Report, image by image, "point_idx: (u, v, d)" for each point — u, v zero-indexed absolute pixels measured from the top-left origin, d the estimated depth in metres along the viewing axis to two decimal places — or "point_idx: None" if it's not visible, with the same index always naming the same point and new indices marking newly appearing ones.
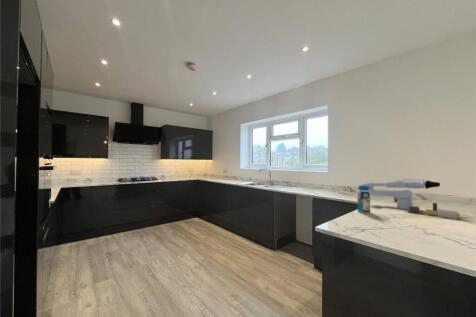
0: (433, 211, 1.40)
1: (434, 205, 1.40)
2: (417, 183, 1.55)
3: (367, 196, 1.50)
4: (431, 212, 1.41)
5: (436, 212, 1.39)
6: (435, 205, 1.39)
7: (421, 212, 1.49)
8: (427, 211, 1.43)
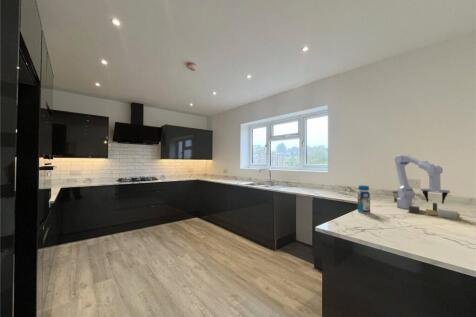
0: (433, 211, 1.40)
1: (434, 205, 1.40)
2: (429, 185, 1.42)
3: (367, 196, 1.50)
4: (431, 212, 1.41)
5: (436, 212, 1.39)
6: (435, 205, 1.39)
7: (421, 212, 1.49)
8: (427, 211, 1.43)
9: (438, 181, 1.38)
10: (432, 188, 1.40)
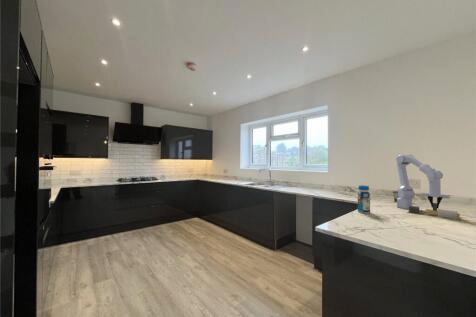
0: (433, 211, 1.40)
1: (434, 205, 1.40)
2: (429, 190, 1.42)
3: (367, 196, 1.50)
4: (431, 212, 1.41)
5: (436, 212, 1.39)
6: (435, 205, 1.39)
7: (421, 212, 1.49)
8: (427, 211, 1.43)
9: (438, 186, 1.38)
10: (432, 193, 1.40)
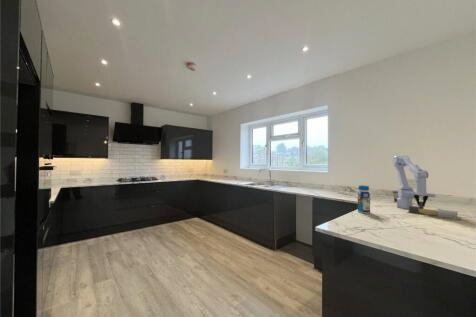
0: (419, 209, 1.46)
1: (420, 203, 1.45)
2: (416, 189, 1.48)
3: (367, 196, 1.50)
4: None
5: (422, 210, 1.44)
6: (421, 203, 1.45)
7: None
8: None
9: (423, 185, 1.44)
10: (418, 192, 1.45)
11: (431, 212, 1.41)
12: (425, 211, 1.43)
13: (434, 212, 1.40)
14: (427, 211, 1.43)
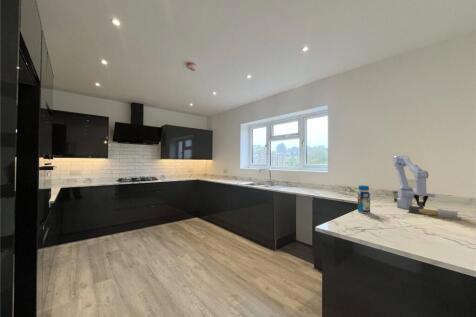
0: (419, 209, 1.46)
1: (420, 203, 1.45)
2: (416, 189, 1.48)
3: (367, 196, 1.50)
4: None
5: (422, 210, 1.44)
6: (421, 203, 1.45)
7: None
8: None
9: (423, 185, 1.44)
10: (418, 192, 1.45)
11: (431, 212, 1.41)
12: (425, 211, 1.43)
13: (434, 212, 1.40)
14: (427, 211, 1.43)
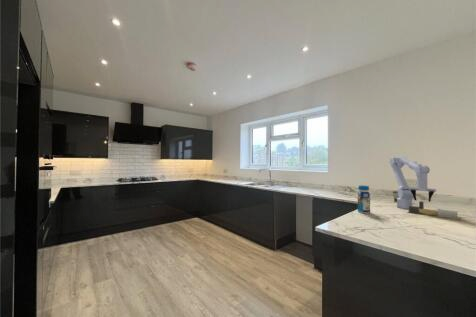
0: (419, 209, 1.46)
1: (420, 203, 1.45)
2: (417, 184, 1.49)
3: (367, 196, 1.50)
4: None
5: (422, 210, 1.44)
6: (421, 203, 1.45)
7: None
8: None
9: (424, 180, 1.45)
10: (419, 187, 1.46)
11: (431, 212, 1.41)
12: (425, 211, 1.43)
13: (434, 212, 1.40)
14: (427, 211, 1.43)
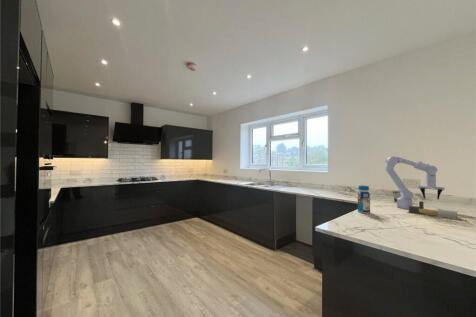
0: (419, 209, 1.46)
1: (420, 203, 1.45)
2: (426, 183, 1.57)
3: (367, 196, 1.50)
4: None
5: (422, 210, 1.44)
6: (421, 203, 1.45)
7: None
8: None
9: None
10: (428, 185, 1.55)
11: (431, 212, 1.41)
12: (425, 211, 1.43)
13: (434, 212, 1.40)
14: (427, 211, 1.43)
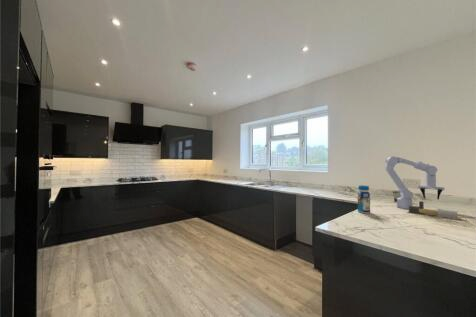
0: (419, 209, 1.46)
1: (420, 203, 1.45)
2: (426, 183, 1.57)
3: (367, 196, 1.50)
4: None
5: (422, 210, 1.44)
6: (421, 203, 1.45)
7: None
8: None
9: None
10: (428, 185, 1.55)
11: (431, 212, 1.41)
12: (425, 211, 1.43)
13: (434, 212, 1.40)
14: (427, 211, 1.43)
